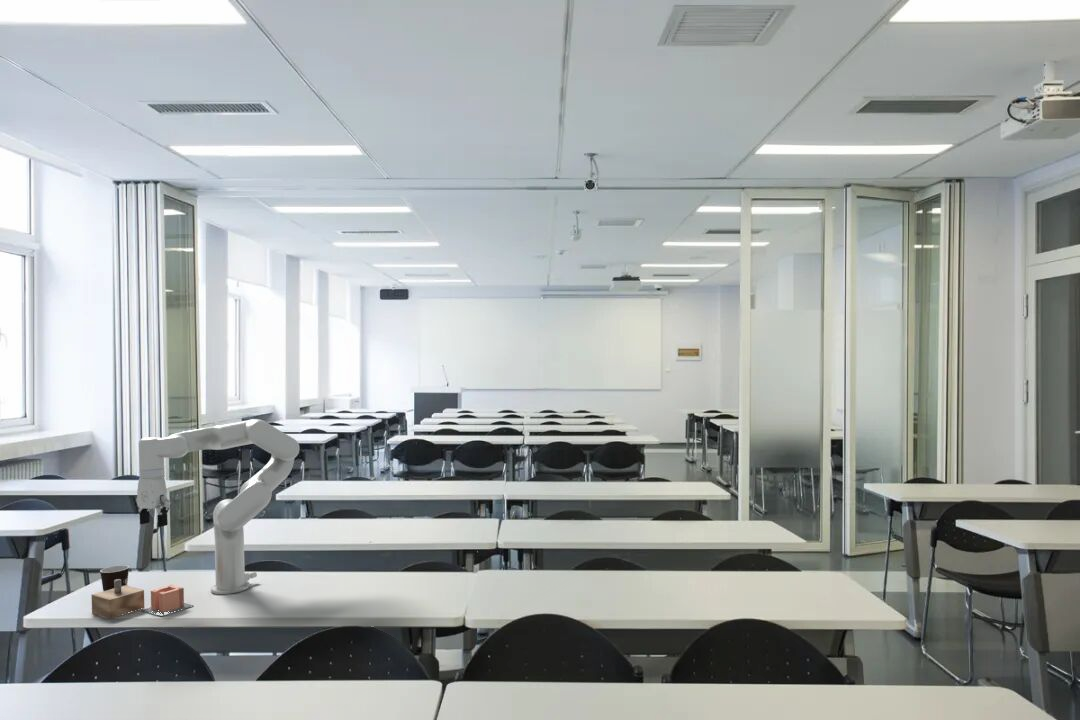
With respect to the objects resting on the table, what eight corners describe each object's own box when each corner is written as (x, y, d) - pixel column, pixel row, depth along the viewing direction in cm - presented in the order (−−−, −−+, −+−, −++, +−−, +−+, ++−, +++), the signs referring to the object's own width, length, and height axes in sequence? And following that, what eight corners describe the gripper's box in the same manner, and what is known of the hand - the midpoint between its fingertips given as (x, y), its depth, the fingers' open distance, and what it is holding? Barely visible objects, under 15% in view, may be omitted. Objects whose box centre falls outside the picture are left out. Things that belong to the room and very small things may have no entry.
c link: (171, 602, 245) (171, 584, 245) (184, 606, 241) (183, 587, 241) (151, 609, 239) (150, 590, 239) (163, 612, 235) (162, 594, 235)
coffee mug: (116, 602, 248) (115, 573, 248) (94, 601, 250) (94, 572, 250) (141, 591, 259) (141, 563, 259) (120, 590, 261) (120, 562, 261)
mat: (174, 601, 248) (174, 600, 248) (193, 606, 242) (193, 605, 242) (141, 611, 239) (141, 609, 239) (160, 616, 233) (160, 615, 233)
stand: (126, 603, 247) (125, 573, 247) (144, 608, 241) (143, 577, 241) (91, 613, 238) (91, 582, 238) (109, 618, 232) (109, 587, 232)
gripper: (125, 474, 249) (127, 524, 249) (157, 477, 240) (159, 529, 240) (147, 471, 255) (148, 520, 255) (178, 473, 247) (180, 524, 247)
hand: (153, 524), depth 248 cm, fingers open, 9 cm apart
